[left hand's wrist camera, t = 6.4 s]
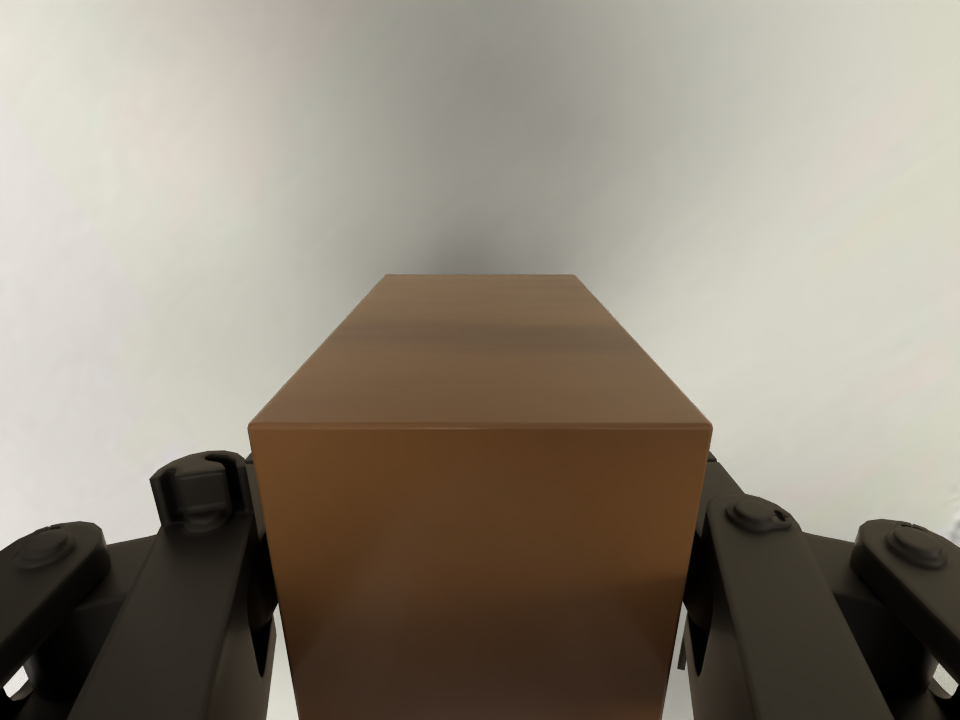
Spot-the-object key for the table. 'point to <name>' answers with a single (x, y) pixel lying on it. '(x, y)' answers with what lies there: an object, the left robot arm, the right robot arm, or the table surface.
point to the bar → (480, 507)
